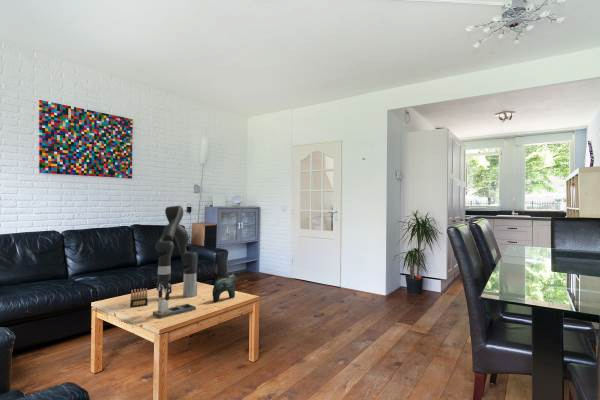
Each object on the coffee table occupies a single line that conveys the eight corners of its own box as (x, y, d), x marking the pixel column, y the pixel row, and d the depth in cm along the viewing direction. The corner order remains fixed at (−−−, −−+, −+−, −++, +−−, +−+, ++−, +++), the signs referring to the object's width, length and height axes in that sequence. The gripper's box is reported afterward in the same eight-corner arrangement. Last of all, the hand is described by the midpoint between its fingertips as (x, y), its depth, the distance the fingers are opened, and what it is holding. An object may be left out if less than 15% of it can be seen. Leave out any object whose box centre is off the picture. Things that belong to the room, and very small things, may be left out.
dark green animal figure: (232, 296, 255) (233, 270, 255) (238, 297, 251) (238, 271, 251) (210, 301, 239) (211, 273, 240) (216, 303, 235) (217, 275, 236)
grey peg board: (187, 306, 226) (187, 303, 226) (195, 309, 220) (195, 306, 220) (152, 314, 208) (152, 311, 208) (160, 318, 202) (160, 314, 202)
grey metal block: (164, 313, 211) (165, 299, 211) (168, 315, 208) (168, 300, 208) (157, 315, 208) (158, 300, 208) (161, 316, 205) (161, 302, 205)
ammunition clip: (130, 307, 221) (130, 289, 222) (129, 307, 223) (130, 289, 223) (147, 305, 227) (148, 287, 228) (147, 304, 229) (147, 287, 229)
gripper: (175, 273, 207) (175, 299, 207) (164, 270, 216) (163, 295, 216) (164, 275, 201) (163, 302, 201) (152, 272, 210) (152, 297, 210)
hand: (163, 298), depth 208 cm, fingers open, 8 cm apart
